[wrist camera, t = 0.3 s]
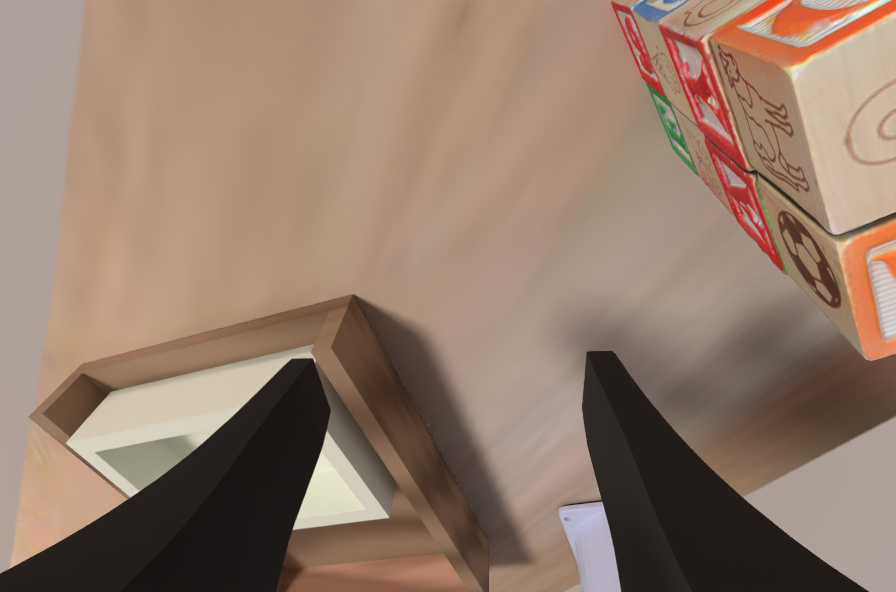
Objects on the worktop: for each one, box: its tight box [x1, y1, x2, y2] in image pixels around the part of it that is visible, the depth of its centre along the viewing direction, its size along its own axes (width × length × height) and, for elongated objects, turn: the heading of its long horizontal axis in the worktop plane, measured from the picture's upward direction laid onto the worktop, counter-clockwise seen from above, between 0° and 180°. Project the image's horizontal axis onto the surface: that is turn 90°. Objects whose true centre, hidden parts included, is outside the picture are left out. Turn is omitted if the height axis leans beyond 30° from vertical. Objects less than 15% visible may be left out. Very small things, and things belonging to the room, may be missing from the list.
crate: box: [66, 344, 396, 530], centre depth 27 cm, size 10×14×4 cm
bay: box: [29, 295, 489, 592], centre depth 31 cm, size 24×18×4 cm
